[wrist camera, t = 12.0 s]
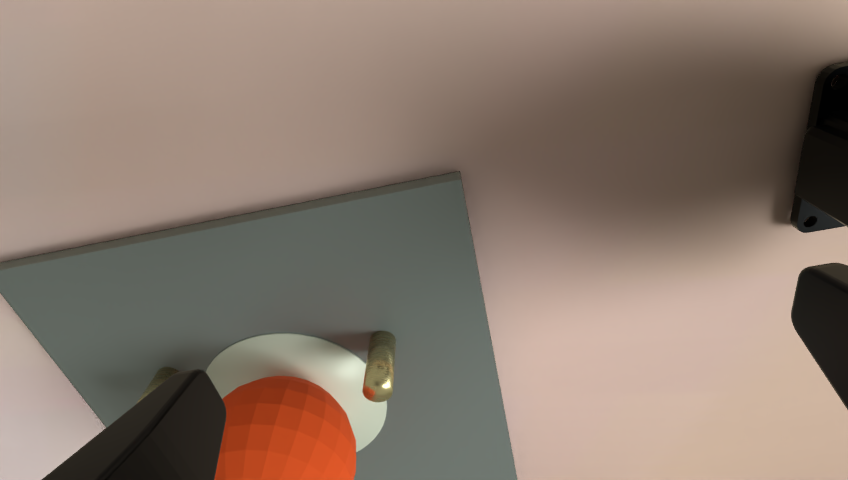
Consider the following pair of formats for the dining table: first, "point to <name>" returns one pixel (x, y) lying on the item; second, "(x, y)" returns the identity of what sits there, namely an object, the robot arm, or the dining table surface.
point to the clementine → (285, 433)
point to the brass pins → (376, 371)
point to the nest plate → (293, 319)
